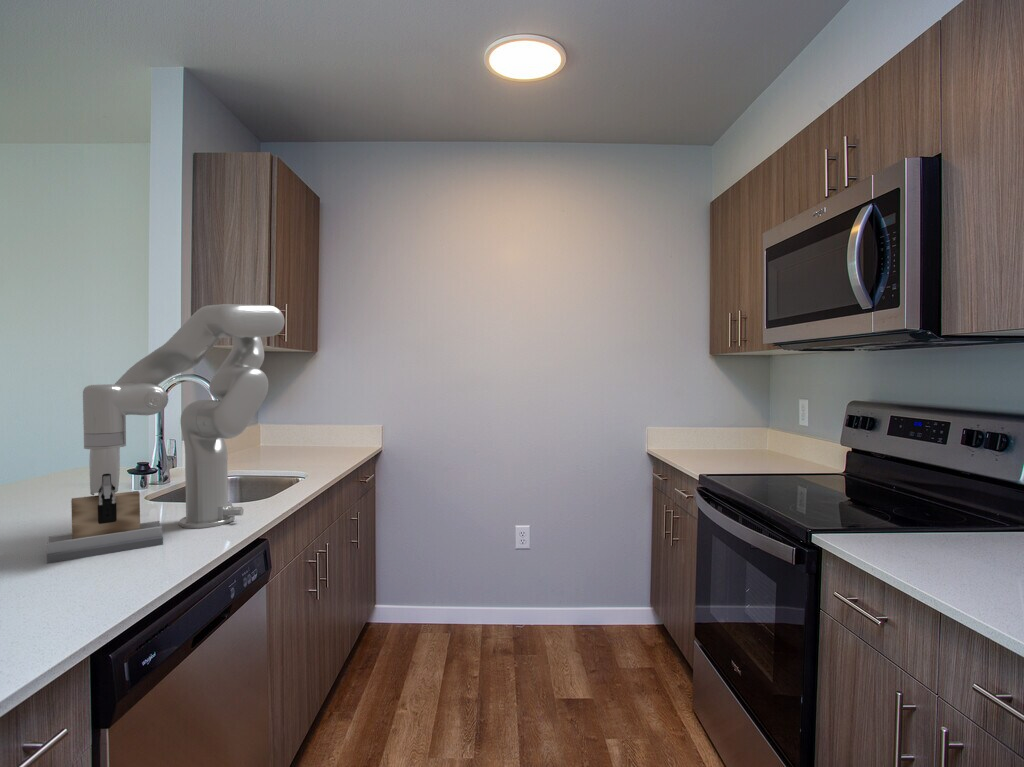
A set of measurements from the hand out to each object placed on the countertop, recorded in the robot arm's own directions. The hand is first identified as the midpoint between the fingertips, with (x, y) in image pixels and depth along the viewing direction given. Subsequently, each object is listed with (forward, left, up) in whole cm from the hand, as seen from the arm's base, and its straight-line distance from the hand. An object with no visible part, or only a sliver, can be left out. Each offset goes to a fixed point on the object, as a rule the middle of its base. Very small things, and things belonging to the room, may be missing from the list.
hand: (106, 517), depth 122 cm
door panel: (0, 0, -5) cm, 5 cm away
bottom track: (0, 0, -7) cm, 7 cm away
